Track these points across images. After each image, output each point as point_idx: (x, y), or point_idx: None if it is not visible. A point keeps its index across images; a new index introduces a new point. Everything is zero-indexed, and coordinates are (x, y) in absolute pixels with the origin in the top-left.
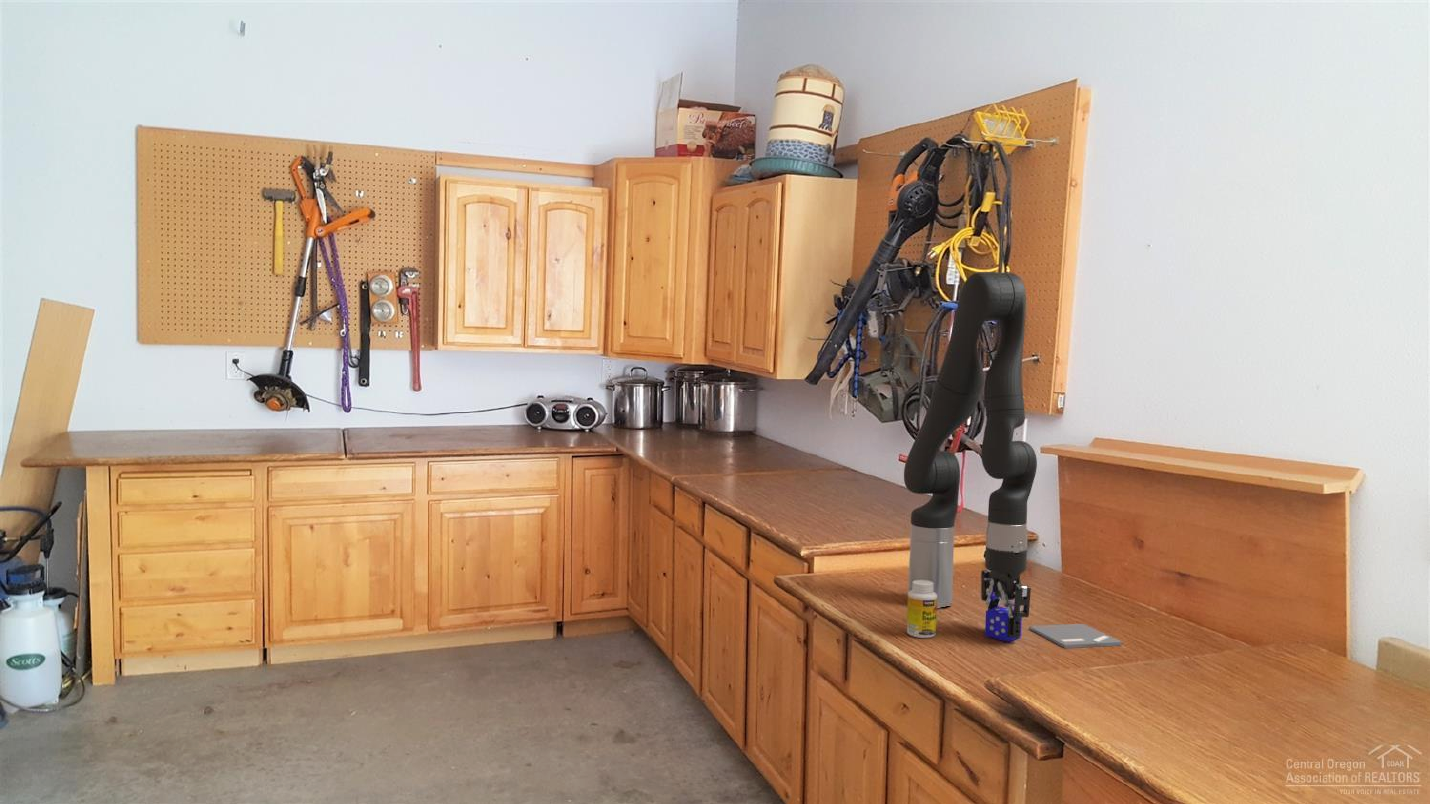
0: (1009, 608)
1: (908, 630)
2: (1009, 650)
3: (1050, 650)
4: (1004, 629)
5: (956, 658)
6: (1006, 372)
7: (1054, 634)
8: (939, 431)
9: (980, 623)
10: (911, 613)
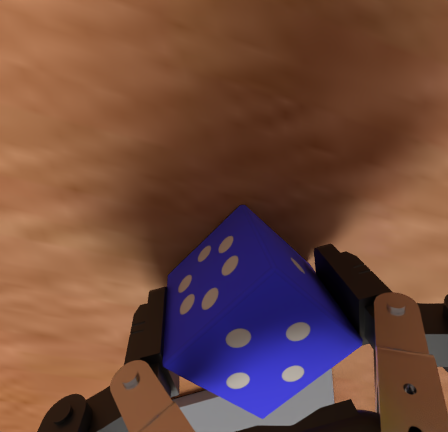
0: (135, 415)
1: None
2: (61, 255)
3: (101, 375)
4: (180, 292)
5: None
6: None
7: (243, 410)
8: None
9: (420, 227)
10: None
